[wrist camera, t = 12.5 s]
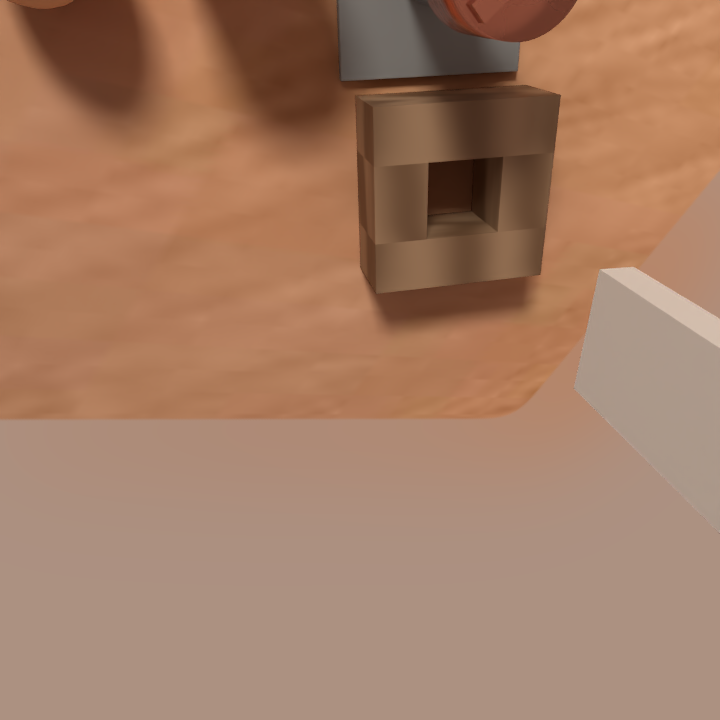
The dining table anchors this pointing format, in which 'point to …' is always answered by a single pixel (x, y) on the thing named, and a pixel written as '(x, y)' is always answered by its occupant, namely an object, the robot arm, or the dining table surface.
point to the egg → (41, 3)
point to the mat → (411, 43)
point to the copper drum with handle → (501, 17)
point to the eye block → (489, 193)
